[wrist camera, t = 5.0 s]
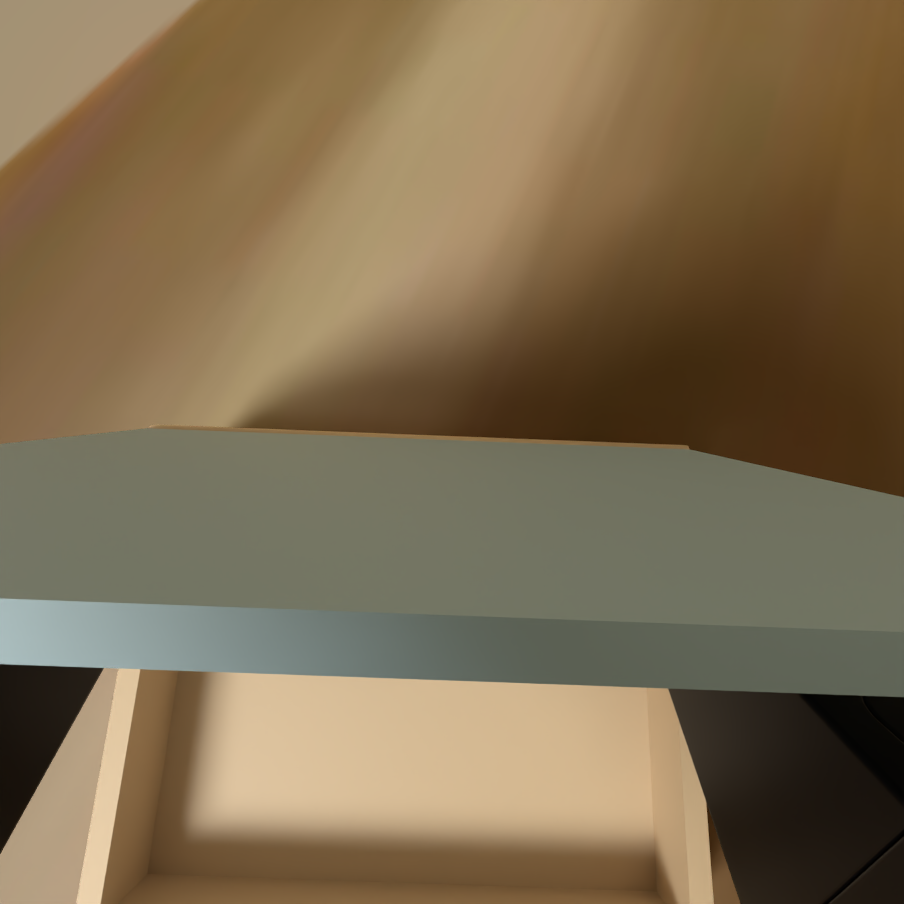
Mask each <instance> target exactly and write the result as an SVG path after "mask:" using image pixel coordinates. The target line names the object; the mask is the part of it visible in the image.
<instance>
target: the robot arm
mask: <svg viewBox="0 0 904 904" xmlns="http://www.w3.org/2000/svg"><path fill="white" fill-rule="evenodd" d="M103 669H104V668H93V667H66V666H38V665H11V664H0V854H1V852H2V850H3V848H4V846H5V845H6V843H7V841H8V839H9V837H10V836H11V834H12V832H13V830H14V828H15V827H16V825H17V823H18V821H19V819H20V818H21V816H22V814H23V812H24V810H25V809H26V807H27V805H28V803H29V801H30V800H31V798H32V796H33V794H34V793H35V791H36V789H37V787H38V785H39V784H40V782H41V780H42V778H43V776H44V775H45V773H46V771H47V769H48V767H49V766H50V764H51V762H52V760H53V758H54V757H55V755H56V753H57V751H58V749H59V748H60V746H61V744H62V742H63V740H64V739H65V737H66V735H67V733H68V731H69V730H70V728H71V726H72V724H73V722H74V721H75V719H76V717H77V715H78V714H79V712H80V710H81V708H82V706H83V705H84V703H85V701H86V699H87V697H88V696H89V694H90V692H91V690H92V688H93V687H94V685H95V683H96V681H97V679H98V678H99V676H100V674H101V672H102V670H103ZM668 690H669V693H670V696H671V699H672V702H673V705H674V708H675V711H676V714H677V717H678V720H679V723H680V726H681V729H682V732H683V735H684V738H685V740H686V743H687V746H688V749H689V752H690V755H691V758H692V761H693V764H694V767H695V770H696V773H697V776H698V779H699V782H700V785H701V788H702V791H703V794H704V797H705V800H706V803H707V805H708V808H709V811H710V814H711V817H712V820H713V823H714V826H715V829H716V832H717V835H718V838H719V841H720V844H721V847H722V850H723V853H724V856H725V859H726V862H727V865H728V868H729V870H730V873H731V876H732V879H733V882H734V885H735V888H736V891H737V894H738V897H739V900H740V903H741V904H904V697H887V696H859V695H832V694H805V693H777V692H750V691H723V690H695V689H668Z"/></svg>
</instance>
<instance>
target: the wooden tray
mask: <svg viewBox="0 0 904 904" xmlns="http://www.w3.org/2000/svg"><path fill="white" fill-rule="evenodd" d="M76 904H714V901H713V888H712V874H711V860H710V846H709V832H708V819H707V805H706V800H705V797H704V794H703V791H702V788H701V785H700V782H699V779H698V776H697V773H696V770H695V767H694V764H693V761H692V758H691V755H690V752H689V749H688V746H687V743H686V740H685V738H684V735H683V732H682V729H681V726H680V723H679V720H678V717H677V714H676V711H675V708H674V705H673V702H672V699H671V696H670V693H669V690H668V688H640V687H613V686H586V685H558V684H531V683H504V682H476V681H449V680H421V679H394V678H367V677H339V676H312V675H285V674H257V673H230V672H202V671H175V670H148V669H120V668H118V674H117V679H116V685H115V690H114V696H113V702H112V707H111V713H110V718H109V724H108V729H107V735H106V741H105V746H104V752H103V757H102V763H101V768H100V774H99V780H98V785H97V791H96V796H95V802H94V807H93V813H92V819H91V824H90V830H89V835H88V841H87V847H86V852H85V858H84V863H83V869H82V874H81V880H80V886H79V891H78V897H77V902H76Z"/></svg>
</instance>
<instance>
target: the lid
mask: <svg viewBox="0 0 904 904" xmlns="http://www.w3.org/2000/svg"><path fill="white" fill-rule="evenodd" d="M0 664H11V665H38V666H66V667H93V668H120V669H148V670H175V671H202V672H230V673H257V674H285V675H312V676H339V677H367V678H394V679H421V680H449V681H476V682H504V683H531V684H558V685H586V686H613V687H640V688H668V689H695V690H723V691H750V692H777V693H805V694H832V695H859V696H887V697H904V497H900V496H895V495H891V494H886V493H882V492H877V491H873V490H869V489H864V488H860V487H855V486H851V485H846V484H842V483H837V482H833V481H828V480H824V479H819V478H815V477H810V476H806V475H802V474H797V473H793V472H788V471H784V470H779V469H775V468H770V467H766V466H761V465H757V464H752V463H748V462H744V461H739V460H735V459H730V458H726V457H721V456H717V455H712V454H708V453H703V452H699V451H694V450H690V449H689V447H688V446H687V445H668V444H642V443H616V442H591V441H565V440H540V439H514V438H488V437H463V436H437V435H411V434H386V433H360V432H335V431H309V430H283V429H258V428H232V427H207V426H181V425H155V424H152V425H150V426H149V428H147V429H137V430H128V431H119V432H109V433H100V434H90V435H81V436H72V437H62V438H53V439H43V440H34V441H24V442H15V443H6V444H0Z"/></svg>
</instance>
